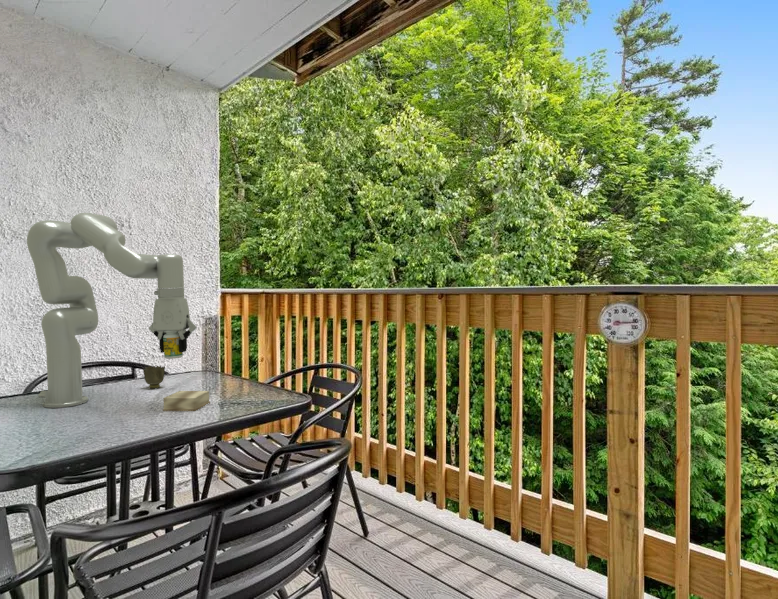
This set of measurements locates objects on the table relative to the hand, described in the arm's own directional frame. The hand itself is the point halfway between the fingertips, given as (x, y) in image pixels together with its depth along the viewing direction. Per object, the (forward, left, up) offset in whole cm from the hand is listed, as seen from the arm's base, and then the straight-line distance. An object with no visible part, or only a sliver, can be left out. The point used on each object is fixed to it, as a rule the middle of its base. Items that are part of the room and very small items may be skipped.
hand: (173, 351), depth 156 cm
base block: (+3, +2, -18) cm, 18 cm away
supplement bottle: (0, 0, -2) cm, 2 cm away
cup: (-23, +29, -18) cm, 41 cm away
